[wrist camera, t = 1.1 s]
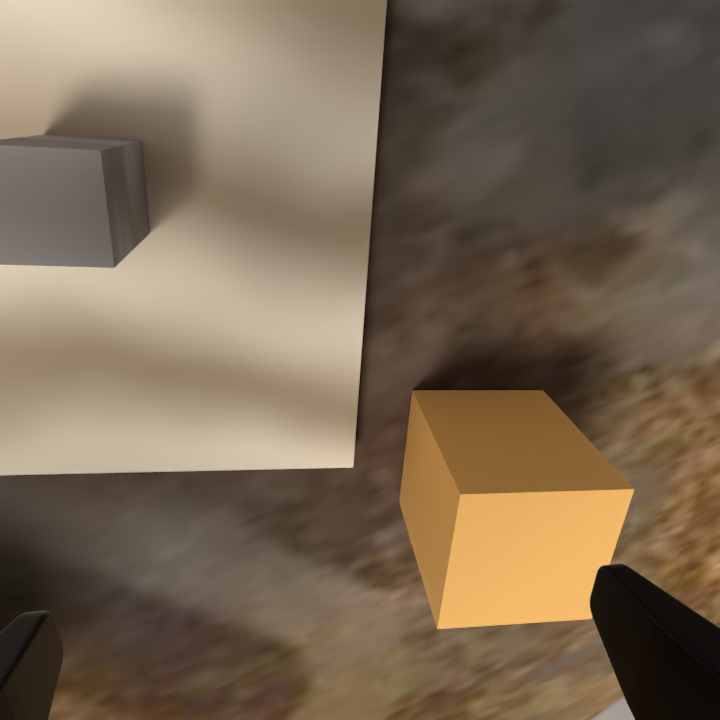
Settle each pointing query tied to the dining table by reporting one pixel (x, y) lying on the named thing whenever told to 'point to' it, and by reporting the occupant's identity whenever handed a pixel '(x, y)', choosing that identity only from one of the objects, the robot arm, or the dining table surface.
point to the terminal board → (184, 232)
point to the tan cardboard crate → (506, 507)
